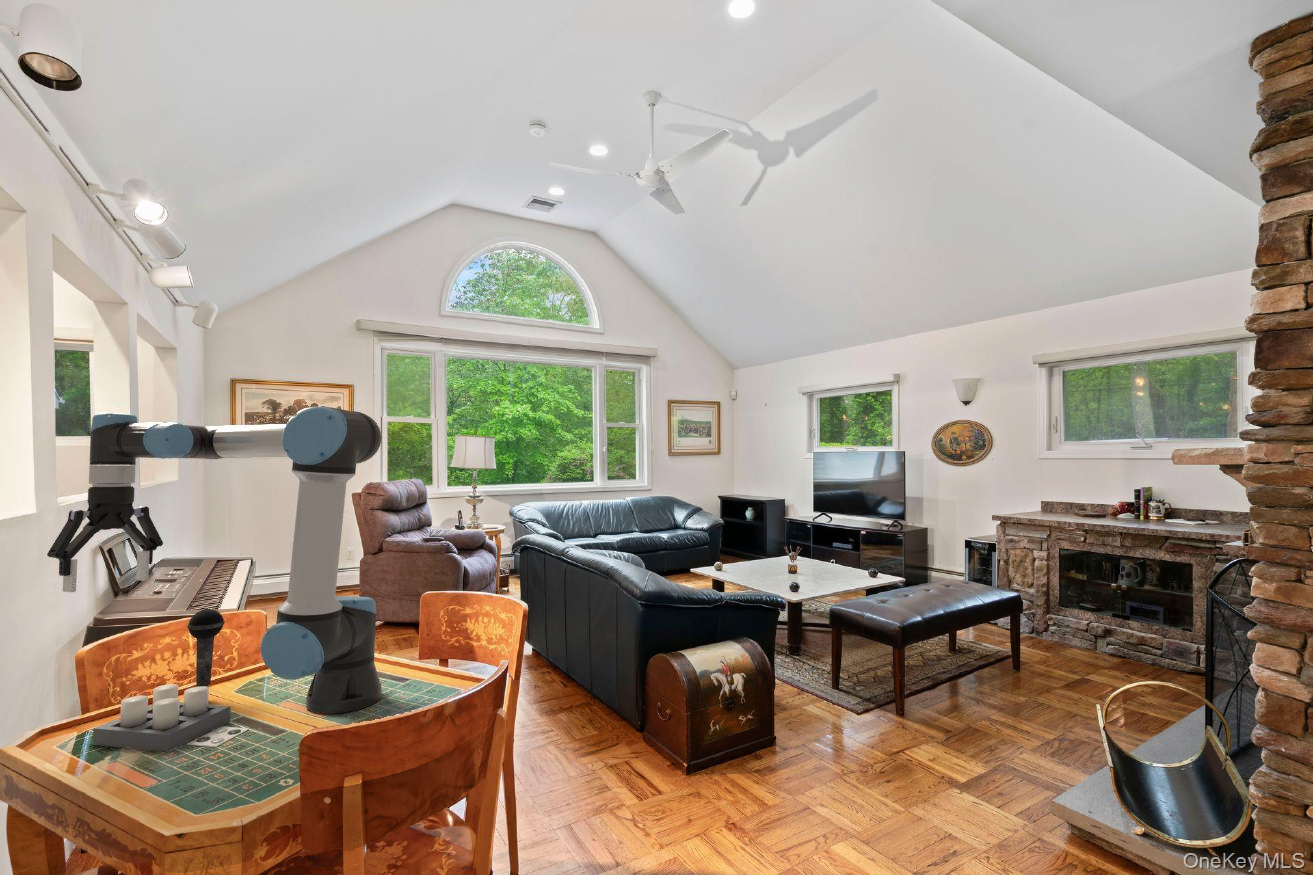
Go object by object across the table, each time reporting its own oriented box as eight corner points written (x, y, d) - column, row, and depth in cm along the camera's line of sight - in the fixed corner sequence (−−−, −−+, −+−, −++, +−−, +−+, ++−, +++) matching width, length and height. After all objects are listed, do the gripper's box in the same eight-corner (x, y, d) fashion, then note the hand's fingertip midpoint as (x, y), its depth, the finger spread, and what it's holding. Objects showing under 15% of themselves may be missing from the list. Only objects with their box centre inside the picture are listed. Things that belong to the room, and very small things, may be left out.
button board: (229, 720, 129) (230, 706, 129) (167, 751, 115) (168, 734, 115) (161, 715, 131) (162, 700, 132) (92, 744, 118) (93, 728, 118)
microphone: (215, 692, 145) (219, 604, 146) (225, 699, 141) (229, 609, 142) (179, 700, 140) (183, 609, 141) (188, 708, 135) (193, 614, 136)
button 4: (212, 709, 128) (213, 686, 128) (195, 717, 124) (196, 693, 124) (195, 707, 129) (196, 685, 129) (177, 715, 125) (179, 692, 125)
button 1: (152, 719, 122) (153, 696, 123) (132, 728, 118) (133, 703, 119) (134, 718, 123) (135, 694, 123) (114, 726, 119) (115, 702, 119)
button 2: (182, 707, 129) (183, 684, 129) (164, 714, 125) (165, 691, 125) (165, 705, 130) (166, 683, 130) (147, 713, 126) (148, 690, 126)
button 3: (184, 722, 121) (185, 698, 122) (165, 730, 117) (166, 706, 118) (165, 720, 122) (167, 697, 122) (146, 729, 118) (147, 704, 118)
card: (249, 729, 125) (249, 727, 125) (215, 747, 117) (215, 745, 117) (222, 727, 126) (222, 725, 126) (187, 744, 118) (187, 743, 118)
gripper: (161, 483, 148) (157, 575, 147) (27, 486, 124) (21, 595, 123) (184, 484, 145) (180, 576, 144) (52, 487, 122) (46, 598, 121)
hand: (107, 585), depth 134 cm, fingers open, 13 cm apart
